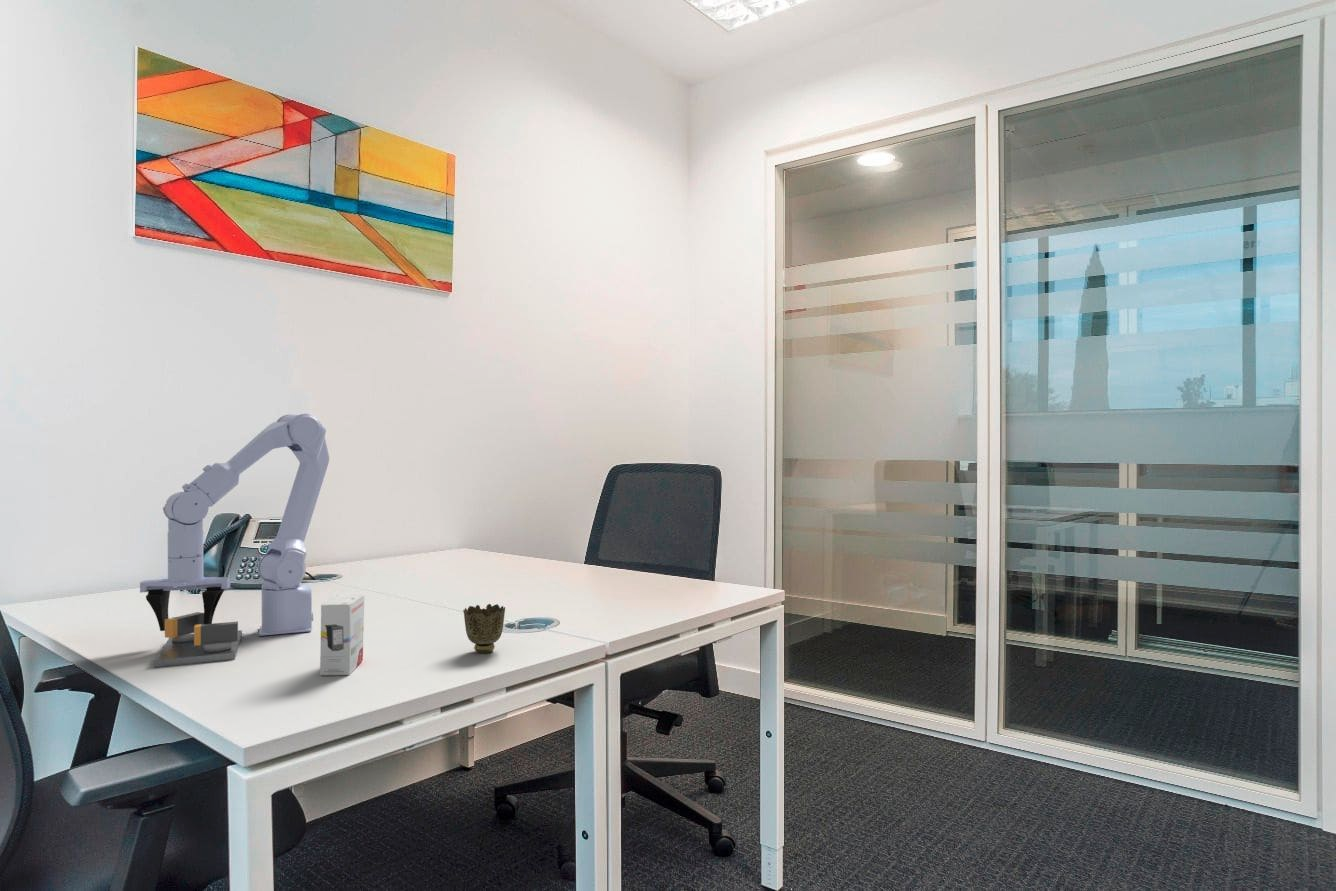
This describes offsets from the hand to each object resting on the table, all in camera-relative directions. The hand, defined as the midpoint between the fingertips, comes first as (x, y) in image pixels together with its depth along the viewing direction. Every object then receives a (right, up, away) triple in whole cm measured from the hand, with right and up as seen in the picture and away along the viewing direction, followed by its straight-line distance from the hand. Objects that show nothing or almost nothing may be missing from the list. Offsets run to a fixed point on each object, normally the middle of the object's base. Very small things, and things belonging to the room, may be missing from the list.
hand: (186, 628), depth 148 cm
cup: (+57, -4, -3) cm, 57 cm away
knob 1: (0, -2, 0) cm, 2 cm away
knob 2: (+10, -2, -7) cm, 12 cm away
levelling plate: (+5, -3, -3) cm, 7 cm away
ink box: (+35, -4, -14) cm, 38 cm away
